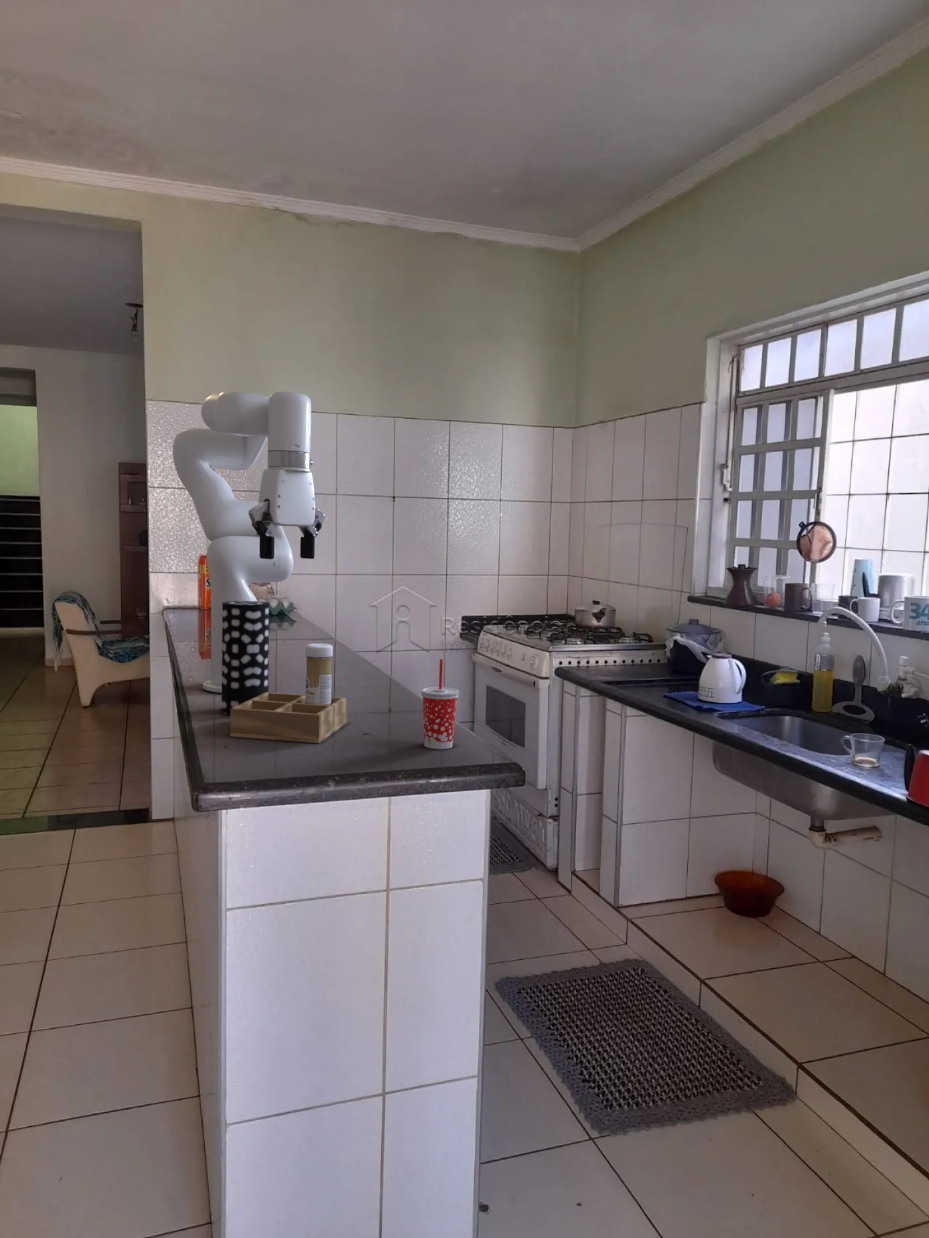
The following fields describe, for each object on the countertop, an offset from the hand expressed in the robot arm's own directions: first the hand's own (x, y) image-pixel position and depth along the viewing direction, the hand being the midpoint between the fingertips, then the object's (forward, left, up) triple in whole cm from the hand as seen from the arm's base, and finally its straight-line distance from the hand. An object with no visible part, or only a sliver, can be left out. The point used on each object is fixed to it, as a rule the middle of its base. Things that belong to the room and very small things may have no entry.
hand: (287, 558), depth 157 cm
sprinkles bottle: (+9, +10, -28) cm, 31 cm away
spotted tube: (+2, -7, -28) cm, 29 cm away
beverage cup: (+16, +32, -28) cm, 46 cm away
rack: (+13, +6, -28) cm, 32 cm away
